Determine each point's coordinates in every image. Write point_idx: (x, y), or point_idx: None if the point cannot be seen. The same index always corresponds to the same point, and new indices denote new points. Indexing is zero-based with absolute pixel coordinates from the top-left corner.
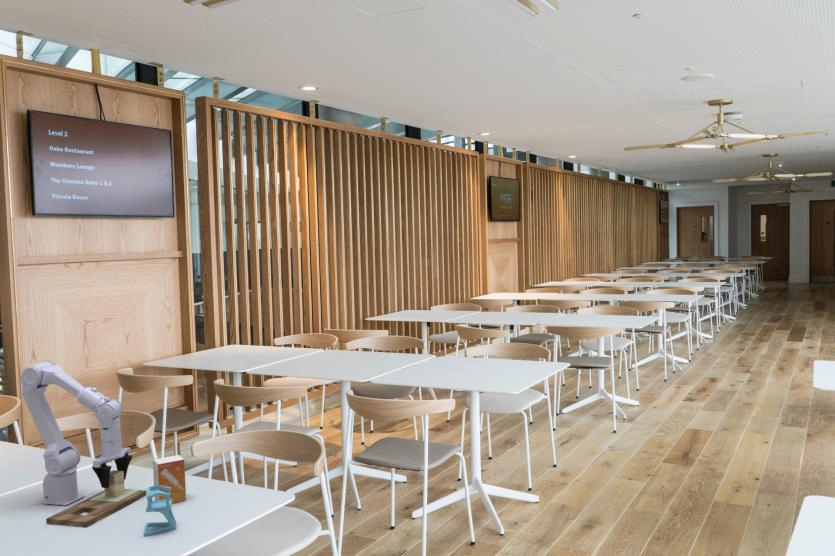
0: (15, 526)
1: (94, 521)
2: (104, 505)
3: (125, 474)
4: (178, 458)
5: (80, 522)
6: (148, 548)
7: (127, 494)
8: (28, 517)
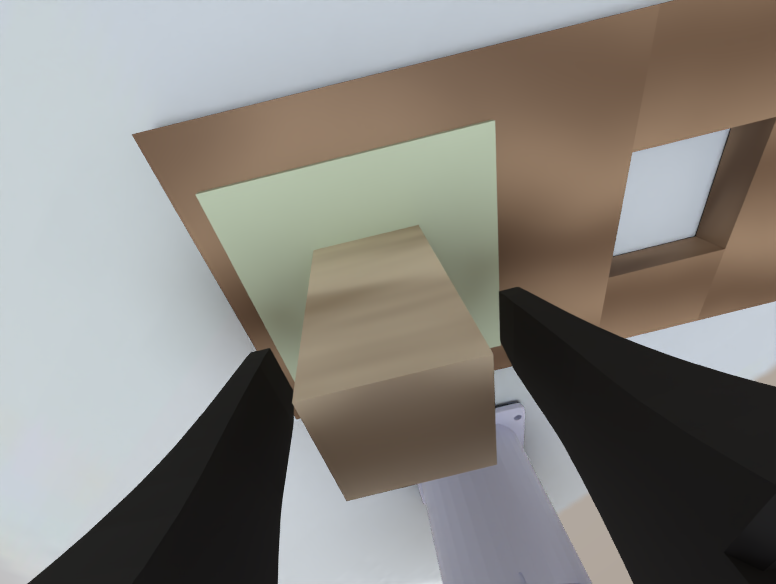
0: (749, 366)
1: None
2: (567, 167)
3: (242, 383)
4: None
5: None
6: None
7: (324, 196)
8: None
